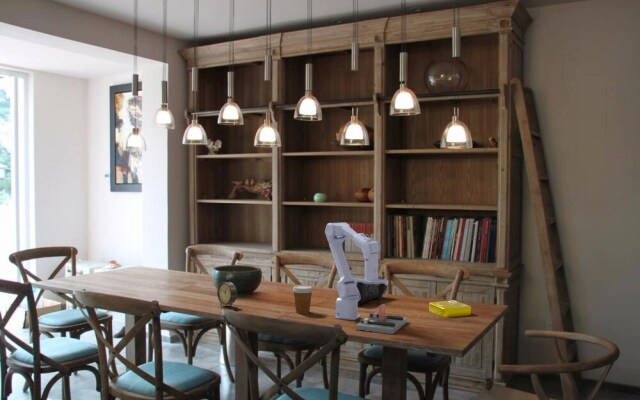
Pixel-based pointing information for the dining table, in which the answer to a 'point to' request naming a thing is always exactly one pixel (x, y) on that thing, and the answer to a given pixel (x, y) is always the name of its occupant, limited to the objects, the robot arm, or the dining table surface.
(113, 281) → the dining table surface
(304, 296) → the disposable coffee cup
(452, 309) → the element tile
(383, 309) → the lever
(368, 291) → the muzzle brake
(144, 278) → the dining table surface
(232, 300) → the alarm clock
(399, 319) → the box
